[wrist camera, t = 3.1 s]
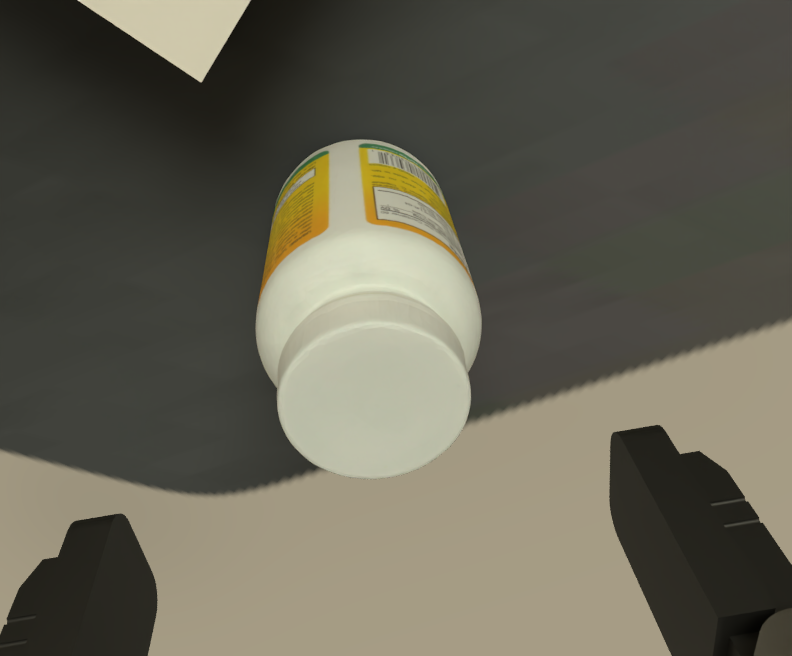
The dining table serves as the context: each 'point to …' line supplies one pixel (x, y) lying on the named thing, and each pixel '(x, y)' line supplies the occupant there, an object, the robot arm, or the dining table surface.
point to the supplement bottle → (367, 312)
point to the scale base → (176, 27)
